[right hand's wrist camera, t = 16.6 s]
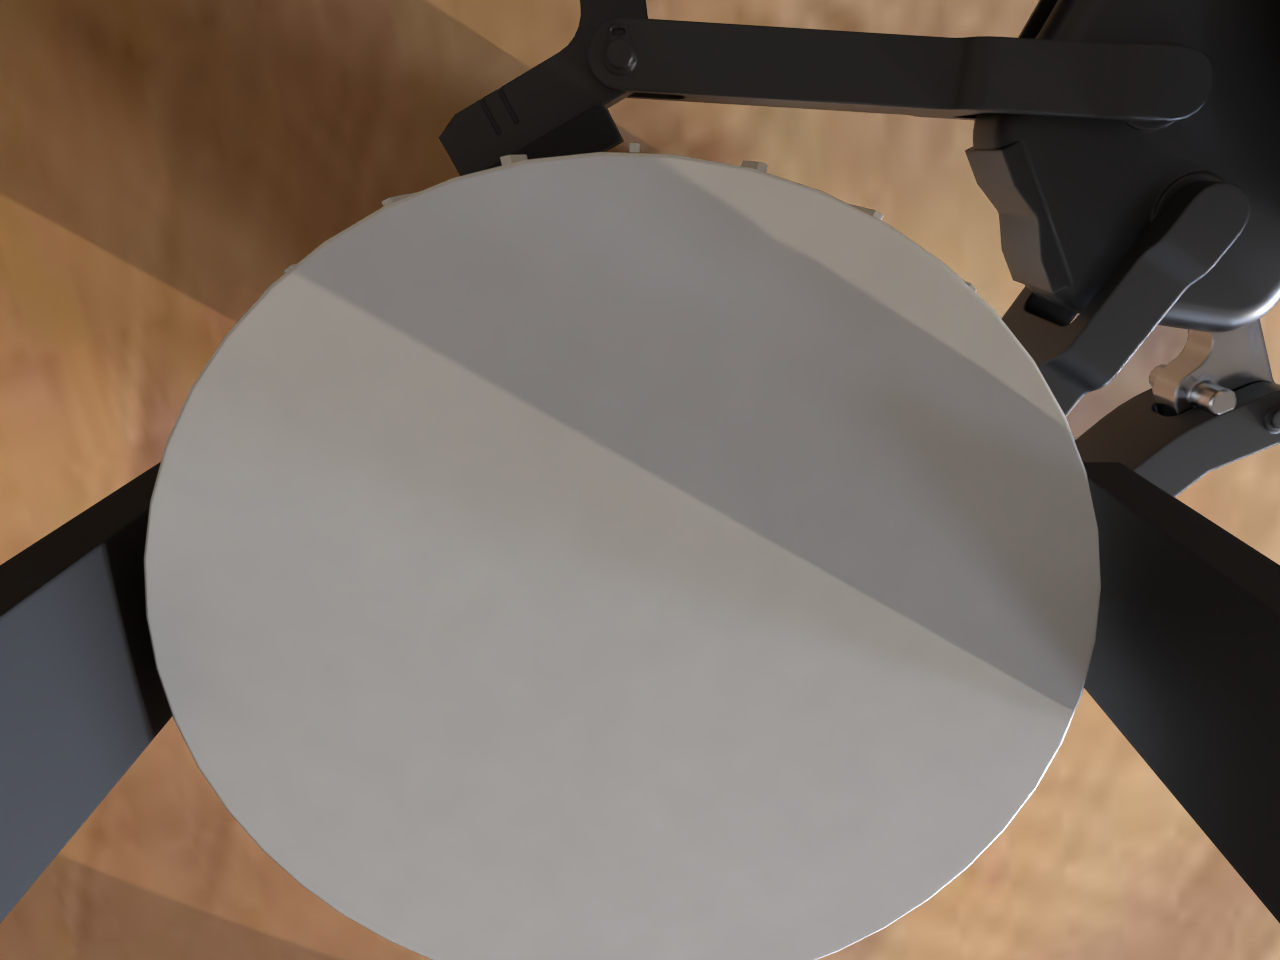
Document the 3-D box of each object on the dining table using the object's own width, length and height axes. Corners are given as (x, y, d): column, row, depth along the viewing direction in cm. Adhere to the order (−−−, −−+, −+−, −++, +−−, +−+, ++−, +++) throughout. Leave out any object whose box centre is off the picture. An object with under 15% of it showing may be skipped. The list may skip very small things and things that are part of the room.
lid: (292, 898, 14) (240, 1009, 12) (123, 162, 10) (10, 164, 8) (986, 881, 14) (1038, 990, 12) (1093, 128, 10) (1194, 123, 8)
